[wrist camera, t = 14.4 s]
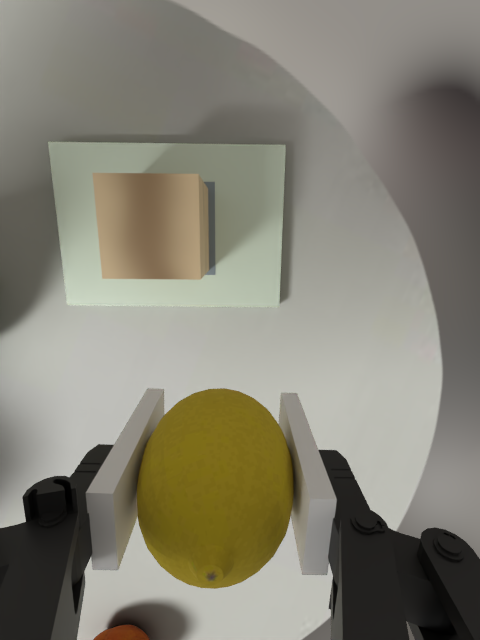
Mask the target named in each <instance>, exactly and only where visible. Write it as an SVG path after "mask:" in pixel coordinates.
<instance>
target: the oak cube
mask: <svg viewBox="0 0 480 640" xmlns="http://www.w3.org/2000/svg"><path fill="white" fill-rule="evenodd" d="M92 174H93V185H94V195H95V206H96V217H97V227H98V238H99V249H100V260H101V270H102V279H188V280H201V279H202V278H203V276H204V275H205V274H206V273H207V272H208V271H209V218H208V188H207V186H206V185H205V183H204V182H203V180H202V178H201V177H200V175H199V174H167V173H92Z"/></svg>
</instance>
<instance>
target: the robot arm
mask: <svg viewBox="0 0 480 640" xmlns="http://www.w3.org/2000/svg"><path fill="white" fill-rule="evenodd" d="M163 416H164V389H147V390H146V392H145V394H144V396H143V397H142V399H141V401H140V402H139V404H138V406H137V407H136V409H135V411H134V412H133V414H132V416H131V417H130V419H129V421H128V422H127V424H126V426H125V428H124V429H123V431H122V433H121V434H120V436H119V438H118V439H117V441H116V443H115V444H114V445H100V444H98V445H97V446H96V447H94V448H93V449H92V450H90V451H89V452H88V453H87V454H86V455H85V457H84V458H83V460H82V461H81V462H80V465H78V467H77V468H76V470H75V472H74V473H73V474H72V475H71V477H66V476H54V477H50V478H47V479H44V480H42V481H40V482H38V483H36V484H34V485H33V486H32V487H31V488H29V489H28V490H27V491H26V493H25V494H24V495H23V504H24V511H25V517H26V522H24V523H21V524H18V525H14V526H9V527H5V528H0V640H77V634H78V627H79V621H80V614H81V608H82V601H83V595H84V588H85V574H84V570H85V568H86V566H87V564H88V562H89V559H90V557H92V568H93V570H118V569H119V566H120V563H121V561H122V558H123V555H124V552H125V550H126V547H127V544H128V541H129V538H130V536H131V533H132V530H133V527H134V525H135V522H136V519H137V516H138V509H137V481H138V474H139V470H140V466H141V462H142V458H143V454H144V450H145V447H146V444H147V442H148V440H149V438H150V437H151V435H152V433H153V432H154V430H155V428H156V427H157V425H158V423H159V422H160V420H161V419H162V418H163ZM279 426H280V428H281V429H282V432H283V434H284V437H285V439H286V442H287V445H288V448H289V451H290V454H291V458H292V465H293V481H294V497H293V506H292V511H291V518H292V524H293V529H294V534H295V539H296V545H297V550H298V555H299V561H300V566H301V571H302V575H327V572H328V564H329V563H330V566H331V570H332V574H333V580H332V588H331V595H330V603H329V609H331V640H409V635H408V629H407V624H406V621H407V622H408V624H409V626H410V629H411V631H412V634H413V636H414V638H415V640H480V559H479V557H478V556H477V555H476V553H475V552H474V550H473V549H472V548H471V547H470V546H469V545H468V544H467V543H466V542H465V541H464V540H463V539H461V538H460V537H458V536H457V535H455V534H453V533H451V532H449V531H447V530H443V529H439V528H428V529H426V530H425V531H423V532H422V534H421V539H418V538H415V537H412V536H408V535H405V534H401V533H399V532H396V531H393V530H391V529H390V528H388V526H387V524H386V522H385V521H384V520H383V519H382V518H381V517H380V516H379V515H378V514H376V513H375V512H373V511H372V510H370V508H369V506H368V504H367V502H366V500H365V498H364V496H363V494H362V491H361V489H360V487H359V485H358V483H357V481H356V480H355V477H354V475H353V473H352V471H351V469H350V467H349V465H348V462H347V460H346V459H345V458H344V457H343V456H342V455H341V454H340V453H339V452H338V451H337V450H318V448H317V445H316V443H315V440H314V437H313V435H312V432H311V429H310V427H309V424H308V421H307V419H306V416H305V413H304V411H303V408H302V405H301V403H300V400H299V397H298V395H297V393H281V400H280V414H279Z"/></svg>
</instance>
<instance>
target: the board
mask: <svg viewBox="0 0 480 640" xmlns="http://www.w3.org/2000/svg"><path fill="white" fill-rule="evenodd" d="M48 149H49V157H50V166H51V174H52V182H53V191H54V199H55V208H56V216H57V225H58V233H59V242H60V250H61V258H62V267H63V275H64V284H65V292H66V301H67V305H90V306H186V307H279V300H280V276H281V252H282V227H283V203H284V178H285V154H286V145H267V144H190V143H113V142H48ZM92 173H167V174H199V175H200V177H201V178H202V180H203V182H204V183H205V185H206V186H207V188H208V218H209V271H208V272H207V273H206V274H205V275H204V276H203V278H202V279H201V280H188V279H102V270H101V260H100V249H99V238H98V227H97V217H96V206H95V195H94V185H93V174H92Z"/></svg>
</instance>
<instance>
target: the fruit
mask: <svg viewBox="0 0 480 640" xmlns="http://www.w3.org/2000/svg"><path fill="white" fill-rule="evenodd" d="M94 640H150V639H149V637H148V636H147V634H146V633H145V632H143V631H142V630H141V629H140V628H138V627H136V626H133V625H120V626H117V627H114V628H110V629H108V630H105V631H103V632H102V633H100V634H99V635H98V636H96V637H95V638H94Z"/></svg>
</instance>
